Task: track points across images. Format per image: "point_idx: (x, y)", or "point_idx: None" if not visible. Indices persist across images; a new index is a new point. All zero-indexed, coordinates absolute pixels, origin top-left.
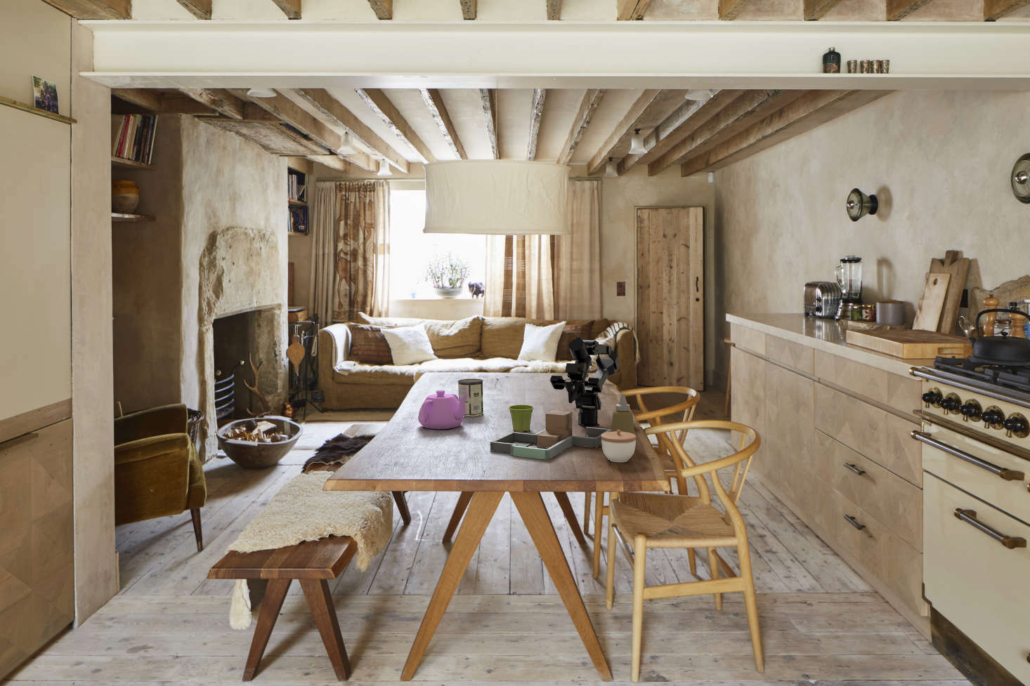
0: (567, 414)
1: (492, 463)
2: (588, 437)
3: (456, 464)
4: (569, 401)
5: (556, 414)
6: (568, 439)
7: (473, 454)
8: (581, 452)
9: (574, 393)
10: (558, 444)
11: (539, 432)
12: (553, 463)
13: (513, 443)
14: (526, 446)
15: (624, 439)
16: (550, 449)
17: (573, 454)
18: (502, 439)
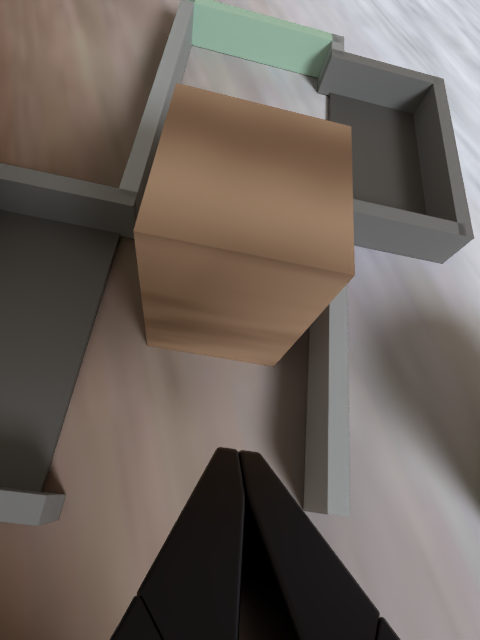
0: (162, 135)
1: (336, 9)
2: (33, 412)
3: (417, 4)
4: (241, 452)
5: (252, 102)
6: (133, 147)
7: (441, 77)
8: (58, 121)
9: (154, 600)
10: (162, 58)
11: None
12: (151, 6)
13: (400, 197)
14: None
15: None
16: (178, 8)
17: (93, 94)
18: (436, 139)
